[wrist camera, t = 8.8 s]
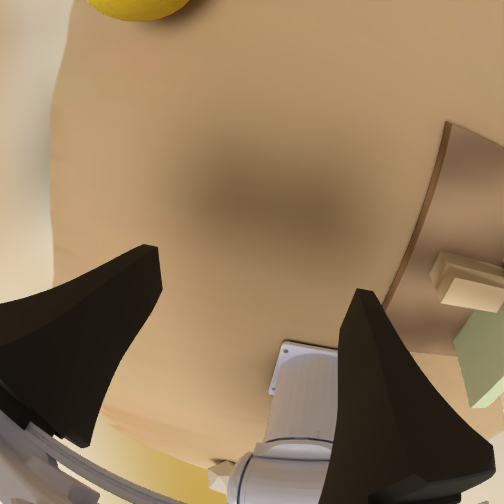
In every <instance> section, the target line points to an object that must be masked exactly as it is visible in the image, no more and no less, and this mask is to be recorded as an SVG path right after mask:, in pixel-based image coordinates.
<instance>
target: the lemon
mask: <svg viewBox="0 0 504 504" xmlns="http://www.w3.org/2000/svg"><path fill="white" fill-rule="evenodd" d="M87 1H88V3H89V4H90V5H91V6H93V7H94V8H95V9H97V10H98V11H99V12H101V13H103V14H105V15H107V16H110V17H113V18H116V19H119V20H123V21H136V22H145V21H151V20H156V19H160V18H163V17H165V16H168V15H170V14H173V13H174V12H176V11H177V10H179V9H180V8H182V7H183V6H184V5H185V4H186V3H187V2H188V1H190V0H87Z"/></svg>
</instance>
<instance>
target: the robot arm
mask: <svg viewBox="0 0 504 504" xmlns="http://www.w3.org/2000/svg"><path fill="white" fill-rule="evenodd" d="M162 290H163V288H162V280H161V272H160V263H159V254H158V247H155V246H150V245H146V244H143V245H141V246H138V247H136V248H134V249H132V250H130V251H128V252H126V253H124V254H122V255H120V256H118V257H116V258H114V259H113V260H111V261H109V262H107V263H105V264H103V265H101V266H99V267H97V268H95V269H93V270H91V271H89V272H87V273H85V274H83V275H81V276H79V277H77V278H75V279H73V280H71V281H69V282H66V283H64V284H62V285H59V286H57V287H54V288H52V289H50V290H47V291H44V292H41V293H38V294H35V295H32V296H29V297H26V298H22V299H19V300H14V301H10V302H6V303H1V304H0V501H1V502H2V503H3V504H99V503H97V502H98V499H99V497H100V494H99V493H98V492H96V491H94V490H93V489H91V488H90V487H88V486H87V485H85V484H83V483H81V482H80V481H78V480H76V479H75V478H73V477H71V476H69V475H67V474H66V473H64V472H63V471H61V470H60V469H59V468H58V464H57V462H56V460H57V461H58V462H60V463H61V464H63V465H64V466H66V467H67V468H69V469H70V470H72V471H73V472H75V473H76V474H78V475H80V476H82V477H83V478H85V479H87V480H88V481H90V482H92V483H93V484H95V485H97V486H99V487H101V488H103V489H104V490H107V491H108V492H110V493H112V494H114V495H116V496H118V497H120V498H122V499H124V500H127V501H129V502H131V503H133V504H187V503H184V502H181V501H178V500H175V499H172V498H169V497H166V496H164V495H161V494H158V493H156V492H153V491H151V490H148V489H146V488H144V487H141V486H139V485H136V484H134V483H132V482H130V481H128V480H126V479H124V478H121V477H119V476H117V475H115V474H113V473H111V472H109V471H107V470H106V469H103V468H101V467H100V466H98V465H96V464H94V463H92V462H91V461H89V460H87V459H86V458H84V457H82V456H81V455H79V454H77V453H75V452H74V451H72V450H71V449H69V448H68V447H66V446H64V445H63V444H61V443H60V442H58V441H57V440H55V439H54V438H53V435H56V436H57V437H59V438H60V439H63V438H66V439H67V440H69V441H70V442H72V443H74V444H75V445H77V446H78V447H80V448H86V447H88V446H90V442H91V438H92V434H93V430H94V427H95V423H96V420H97V417H98V414H99V411H100V408H101V405H102V402H103V399H104V397H105V394H106V392H107V390H108V387H109V385H110V382H111V380H112V378H113V376H114V373H115V371H116V369H117V367H118V365H119V363H120V361H121V359H122V357H123V356H124V354H125V352H126V351H127V349H128V348H129V346H130V345H131V343H132V341H133V340H134V338H135V337H136V335H137V334H138V332H139V331H140V329H141V328H142V326H143V325H144V323H145V322H146V320H147V318H148V317H149V315H150V314H151V312H152V311H153V309H154V307H155V305H156V303H157V301H158V298H159V296H160V294H161V292H162ZM285 349H286V350H285ZM268 393H269V394H270V395H274V397H273V402H272V406H271V411H270V415H269V420H268V424H267V428H266V433H265V437H264V441H263V443H256V446H255V450H254V452H247V453H246V454H244V455H243V456H242V457H241V458H240V459H239V460H238V461H237V462H236V464H235V465H234V467H233V469H232V471H231V474H230V477H229V481H228V486H227V504H457V503H460V501H461V493H462V492H464V491H466V490H468V489H470V488H472V487H475V486H477V485H479V484H481V483H482V482H484V481H486V480H488V479H489V478H491V477H492V476H493V475H494V473H495V472H496V468H495V458H494V451H493V446H492V445H491V444H490V443H489V442H488V441H487V440H485V439H484V438H483V437H482V436H481V435H480V434H478V433H477V432H476V431H475V430H474V429H472V428H471V427H470V426H469V425H468V424H467V423H466V422H465V421H464V420H463V419H462V418H461V417H460V416H459V415H458V414H457V413H456V412H455V411H454V410H453V409H452V407H451V406H450V405H449V404H448V403H447V402H446V401H445V399H444V398H443V397H442V396H441V395H440V394H439V393H438V391H437V390H436V389H435V388H434V386H433V385H432V384H431V383H430V381H429V380H428V378H427V377H426V376H425V374H424V373H423V372H422V370H421V369H420V368H419V366H418V365H417V363H416V362H415V360H414V359H413V357H412V356H411V354H410V353H409V351H408V350H407V348H406V347H405V345H404V343H403V342H402V340H401V338H400V337H399V335H398V333H397V332H396V330H395V328H394V327H393V325H392V323H391V321H390V320H389V318H388V316H387V314H386V313H385V311H384V309H383V307H382V306H381V304H380V302H379V300H378V299H377V297H376V295H375V294H374V292H373V291H369V290H364V289H358V288H357V289H356V291H355V294H354V296H353V299H352V301H351V304H350V306H349V309H348V311H347V314H346V316H345V318H344V321H343V323H342V325H341V328H340V333H339V343H338V350H333V349H327V348H321V347H315V346H310V345H304V344H299V343H294V342H289V341H285V342H283V343H282V345H281V349H280V352H279V356H278V359H277V363H276V367H275V370H274V374H273V377H272V381H271V384H270V387H269V391H268ZM479 504H489V502H488V501H485V502H482V503H479Z"/></svg>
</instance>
